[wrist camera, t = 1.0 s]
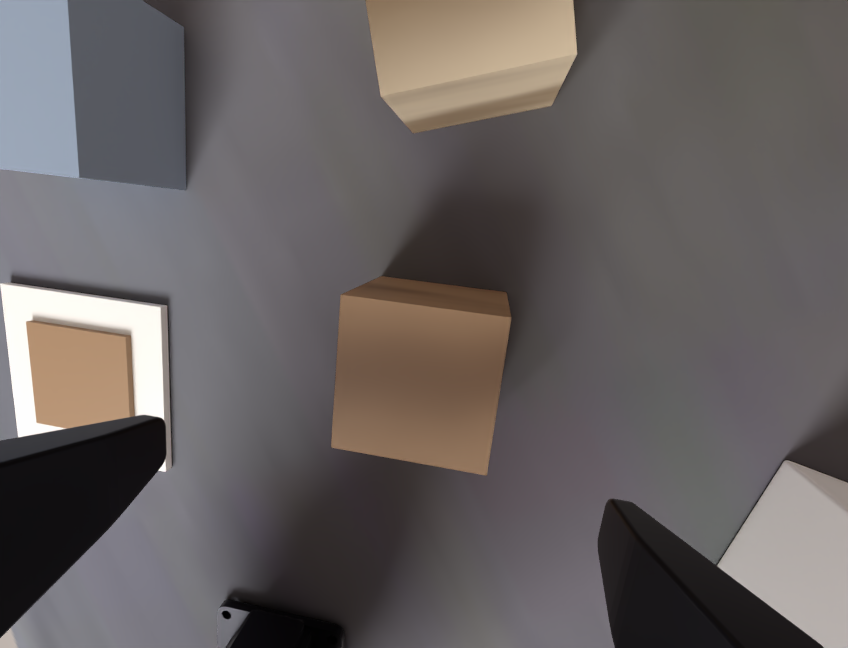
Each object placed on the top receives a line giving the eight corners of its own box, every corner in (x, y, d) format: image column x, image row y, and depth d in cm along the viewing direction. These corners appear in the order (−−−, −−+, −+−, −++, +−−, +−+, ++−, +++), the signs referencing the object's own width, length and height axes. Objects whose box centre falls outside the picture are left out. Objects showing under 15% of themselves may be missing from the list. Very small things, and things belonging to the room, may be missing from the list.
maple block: (550, 106, 16) (577, 53, 11) (413, 133, 17) (380, 96, 12) (536, -55, 15) (558, -191, 10) (391, -16, 16) (345, -125, 11)
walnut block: (488, 410, 18) (486, 475, 14) (372, 391, 19) (331, 447, 14) (506, 291, 17) (511, 317, 12) (381, 275, 18) (340, 294, 13)
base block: (188, 190, 18) (79, 177, 14) (60, 176, 19) (-86, 159, 14) (185, 28, 17) (64, -50, 12) (48, 19, 18) (-118, -58, 13)
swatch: (171, 467, 21) (161, 475, 21) (27, 439, 22) (12, 445, 22) (167, 305, 19) (155, 308, 19) (9, 282, 20) (-7, 284, 20)
